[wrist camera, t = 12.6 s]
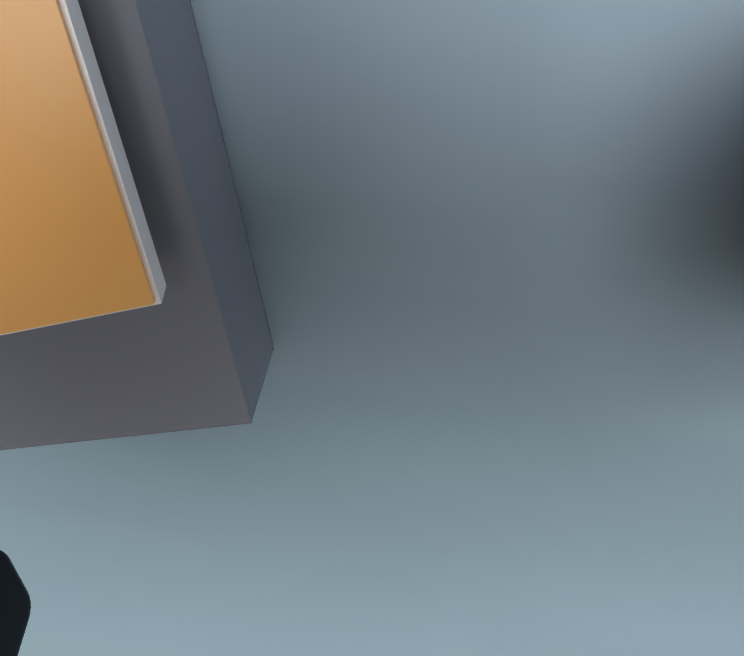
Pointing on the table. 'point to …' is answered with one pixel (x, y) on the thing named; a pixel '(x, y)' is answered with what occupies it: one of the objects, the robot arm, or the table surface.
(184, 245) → the grey square block
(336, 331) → the table surface
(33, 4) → the white and orange panel
